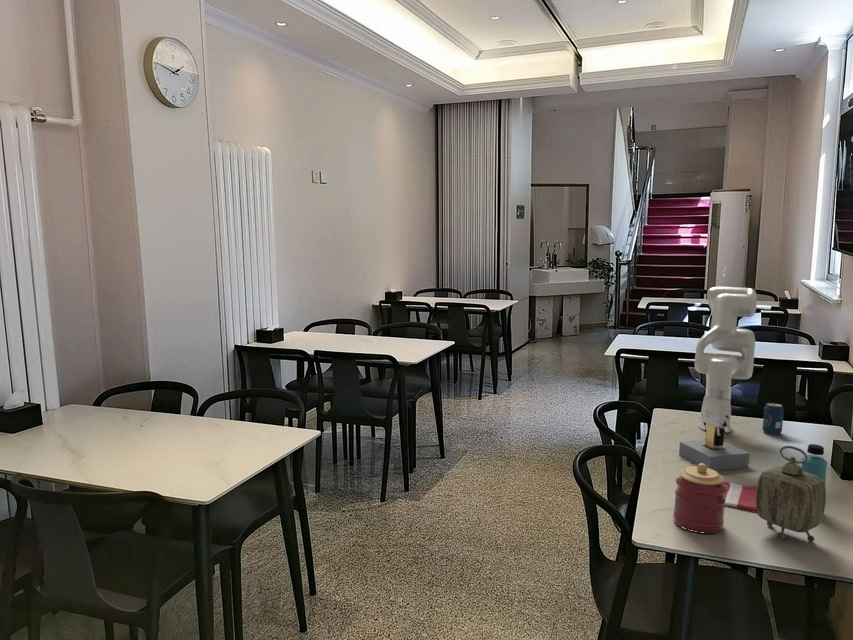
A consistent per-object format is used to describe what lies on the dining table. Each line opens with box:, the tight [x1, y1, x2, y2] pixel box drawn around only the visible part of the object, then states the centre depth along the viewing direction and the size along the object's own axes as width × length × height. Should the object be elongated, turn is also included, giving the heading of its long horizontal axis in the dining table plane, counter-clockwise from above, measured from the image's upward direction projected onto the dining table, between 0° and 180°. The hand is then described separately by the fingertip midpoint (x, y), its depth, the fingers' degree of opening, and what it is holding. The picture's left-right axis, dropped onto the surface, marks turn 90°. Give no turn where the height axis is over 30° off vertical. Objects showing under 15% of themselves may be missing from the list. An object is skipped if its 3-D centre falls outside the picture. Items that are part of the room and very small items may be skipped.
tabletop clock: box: [756, 445, 827, 542], centre depth 170 cm, size 14×9×25 cm, turn 35°
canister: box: [672, 463, 727, 534], centre depth 177 cm, size 13×13×18 cm
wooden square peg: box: [705, 424, 723, 451], centre depth 226 cm, size 4×4×12 cm
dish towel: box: [722, 481, 757, 513], centre depth 197 cm, size 17×23×3 cm
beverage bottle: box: [801, 443, 828, 490], centre depth 186 cm, size 6×7×20 cm
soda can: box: [762, 402, 785, 436], centre depth 259 cm, size 7×7×12 cm
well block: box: [678, 439, 750, 471], centre depth 227 cm, size 16×16×5 cm
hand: (714, 442), depth 227 cm, fingers closed on wooden square peg, 4 cm apart
